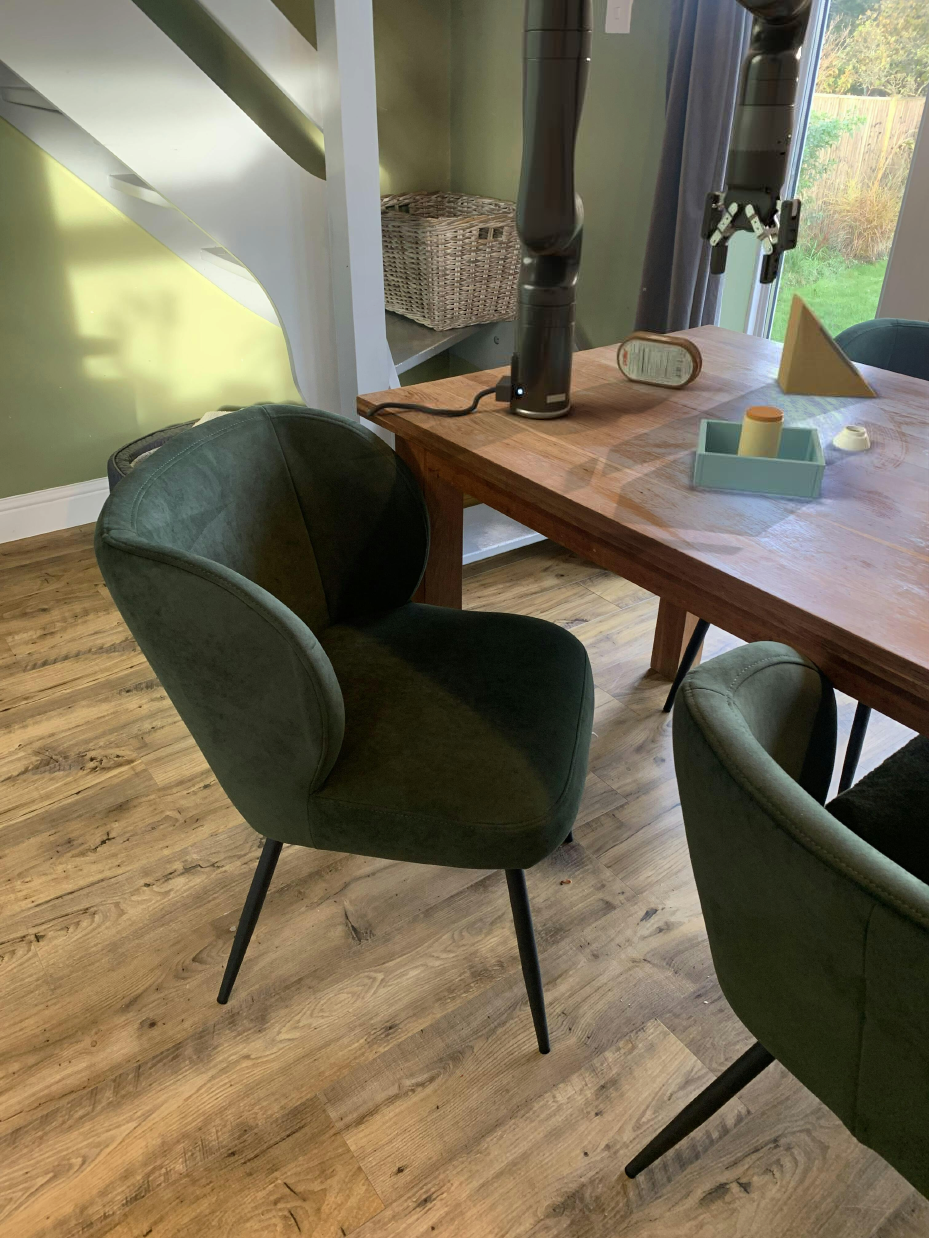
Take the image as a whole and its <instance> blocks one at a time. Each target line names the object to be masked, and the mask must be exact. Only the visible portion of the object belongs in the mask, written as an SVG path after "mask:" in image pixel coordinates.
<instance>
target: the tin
mask: <svg viewBox="0 0 929 1238" xmlns="http://www.w3.org/2000/svg"><path fill="white" fill-rule="evenodd" d="M616 364H617V367H618V369H619V371H620V373H621V374H622V375H623V376H624V377H625V378H626V379H627V380H630V381H632V382H634V383H635V382H636V383H641V384H647V385H651V386H656V387H657V386H658V387H663V388H667V389H674V390H675V389H681V388H684V387H687V386H688V385H690V383H692V382H694V381H695V380H696V379H697V378H698V377H699V375H700V373H701V372H702V368H703V357H702V353H701V351H700V349H699V347H698V346H697V345H696V344H695V343H694V342H693V341H691V340H689V339H688V338H685V337H679V336H673V335H667V334H661V333H654V332H648V331H641V330H640V331H635V332H633V333H631V334H629V335H628V336H627V337H626V338H625V339H623V341H622V342H621V343H620V344H619V346H618V347H617V351H616Z"/></svg>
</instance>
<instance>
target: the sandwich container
mask: <svg viewBox="0 0 929 1238" xmlns="http://www.w3.org/2000/svg"><path fill="white" fill-rule="evenodd" d="M791 299H792V300H791V306H790V310H789V315H788V321H787V325H786V331H785V335H784V342H783V347H782V351H781V357H780V361H779V368H778V373H777V377H776V378H777V379H776V380H777V383H778V384H779V386H780V388H781V390H782V392H783V394H785V395H786V394H788V395H804V396H805V395H806V396H819V397H820V396H822V397H823V396H824V397H827V396H828V397H850V398H877V397H878V396H877V395H876V393H875V392H874V390H873V389H872V387H871V386H870V385H869V383H868V382H867V381H866V379H865V377H864V376H863V374H862V373H861V372H860V370H859V368H857V366H856V365H855V364H854V363H853V362H852V361H851V359H850V358H849V357H848V356H847V355H846V353H845V352H844V351H843V349H842V348H841V346H840V345H839V344H838V343H837V342H836V340H835V339H834V338H833V336H832V335H831V334H830V333H829V331H828V330H827V329H826V327H825V326H824V324H823V322H822V321H821V320H820V319H819V317H818V315H816V314H815V312H814V311H813V310H812V309H811V307H810V306H809V305H808V304H807V303H806V301H805V300H804V299H803V298H802V297H801V296H799V295H798V294H797V293H796V292H795V293H793V295H792V298H791Z"/></svg>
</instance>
